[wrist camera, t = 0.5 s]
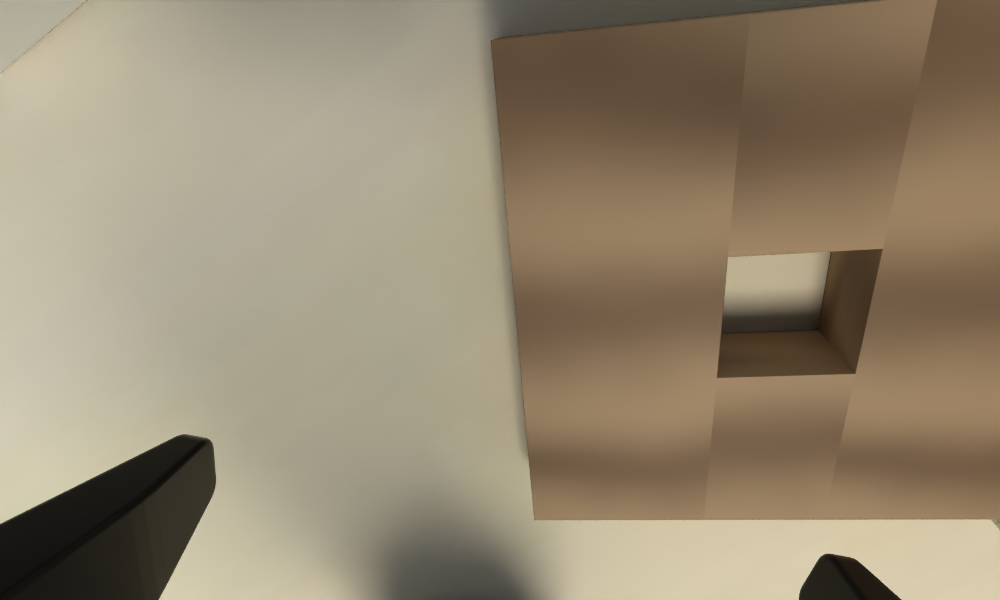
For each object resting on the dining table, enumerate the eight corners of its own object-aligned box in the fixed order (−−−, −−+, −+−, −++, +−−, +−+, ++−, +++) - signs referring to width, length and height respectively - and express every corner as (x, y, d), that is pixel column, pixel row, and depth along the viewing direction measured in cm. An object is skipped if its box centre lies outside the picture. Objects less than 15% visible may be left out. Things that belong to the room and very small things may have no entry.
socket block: (961, 463, 24) (1014, 519, 21) (535, 468, 26) (534, 520, 23) (1130, -27, 16) (1248, -36, 13) (500, 37, 18) (490, 40, 15)
